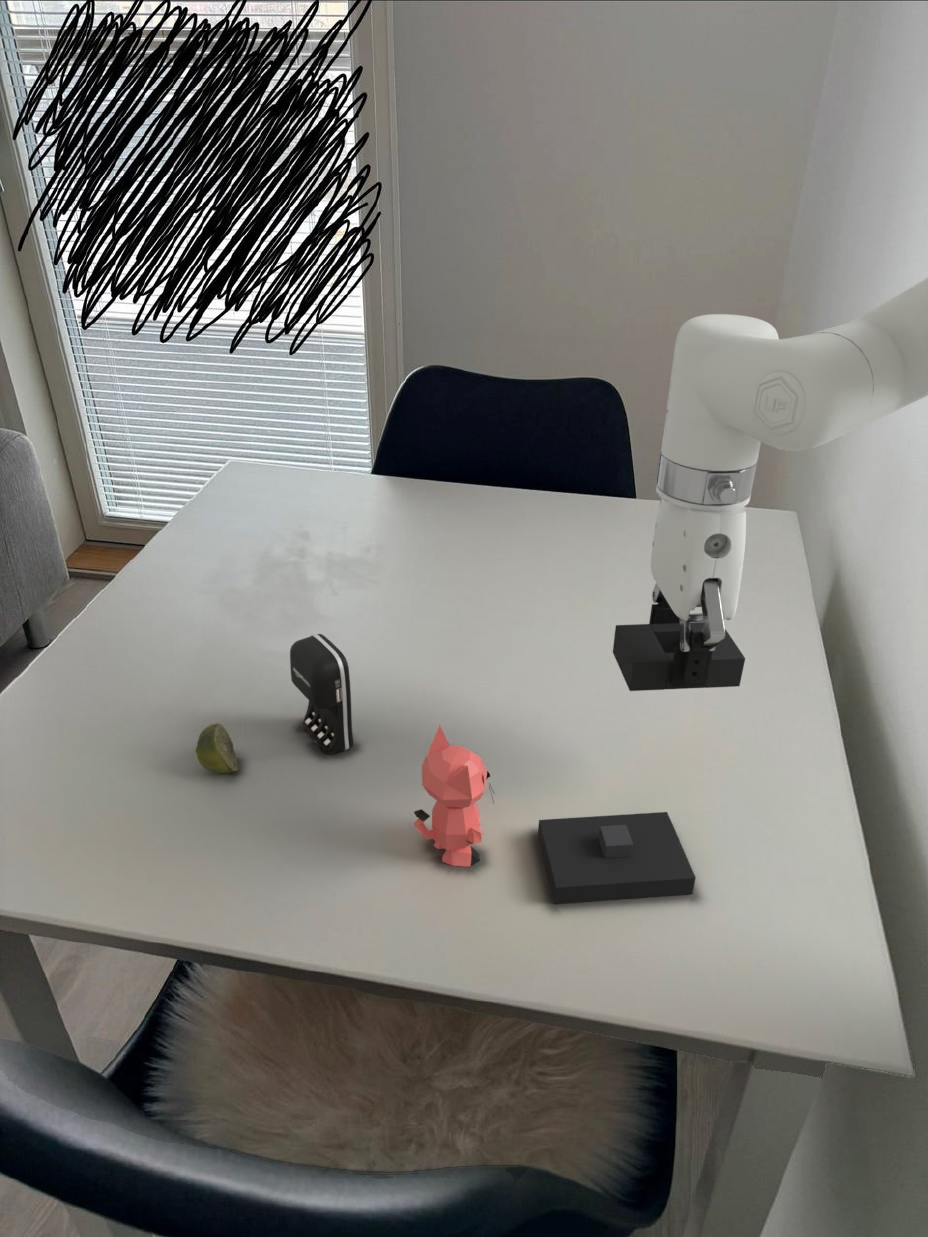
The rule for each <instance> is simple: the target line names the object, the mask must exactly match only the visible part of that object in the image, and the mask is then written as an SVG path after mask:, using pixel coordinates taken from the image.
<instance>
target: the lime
mask: <svg viewBox="0 0 928 1237" xmlns="http://www.w3.org/2000/svg"><path fill="white" fill-rule="evenodd" d="M195 753H196V758H197V760H198V763H199V764H200V766H201V767H202V768H203V769H205V770H207V771H209V772H213V773H216V774H231V773H234V772H236V771H237V770H238V760H237V755H236V752H235V749H234V744H233V741H232V738H231V736H230V734H229V732H228V731H227V730H226V728H225V727H224V726H223V725H222V724H221V723H211V724H209V725H207V726H206V727H205V728H204V729H203V730H202V731H201V732H200V734H199V736H198V739H197V744H196V748H195Z"/></svg>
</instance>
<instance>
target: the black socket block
mask: <svg viewBox="0 0 928 1237" xmlns="http://www.w3.org/2000/svg"><path fill="white" fill-rule="evenodd" d="M703 626H704V622H690V636H691V635H693V634H694V633H695V632H701V629H703ZM675 646H680V623H670V624H649V623H640V624H639V623H637V624H636V623H635V624H616V625H615V629H614V636H613V646H612V653H613V657H614V658H615V660H616V661H615V662H616V663H617V666H618V667H619V670H620V672H621V675H622V677H623V679H624V681H625V683H626V686H627V688H628V690H629V692H639V691H640V692H641V691H663V690H665V691H666V690H685V689H686V690H687V689H711V688H712V689H713V688H714V689H715V688H734V687H740V686H741V680H742V677H743V672H744V666H745V661H746V658H745V656H744V654H743V652H741V650H740V648H739V647H738V646H737V644H736V642H735V641H734V639H733V638H732V636H731V635H730V634H729V632H728V630H727V629H726V628H725V638H724V639H723V640H721V641H720V642H719V643H718V644H717V646H716V648H715V651H713V652H712V658H711V663H710V669H709V674H708V679H707V684H706V685H704V686H697V687H672V686H671V684H670V675H671V668H672V662H673V656H674V649H675Z"/></svg>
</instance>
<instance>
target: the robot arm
mask: <svg viewBox="0 0 928 1237" xmlns="http://www.w3.org/2000/svg"><path fill="white" fill-rule="evenodd" d="M674 343H675V344H674V349H673V350H674V351H673V358H672V364H671V372H670V381H669V387H668V388H669V389H668V396H667V402H666V409H665V411H666V412H665V418H664V427H663V433H662V441H661V448H660V456H659V462H658V470H657V471H658V472H657V480H656V486H655V492H656V494H657V495H658V497H659V498H660V501H659V506H658V511H657V516H656V522H655V527H654V531H653V532H654V533H653V539H652V546H651V555H650V570H651V576H652V577H653V580H654V582H655V584H654V587H653V589H652V594H651V598H652V602H653V603H652V604H651V608H650V615H649V622H648V624H670V623H680V646H675V649H674V656H673V662H672V668H671V675H670V684H671V686H672V687H697V686H704V685H706V684H707V679H708V674H709V669H710V663H711V658H712V652H713V651H715V648H716V646H717V644H718V643H719V642H720V641H721V640H723V639H724V638H725V629H726V628H725V627H726V626H725V622H724V621H725V620H727V621H730V620H731V621H732V619H734V617H735V616H736V613H737V609H738V603H739V597H740V589H741V584H742V582H741V581H742V576H743V575H742V574H743V568H744V560H745V550H746V539H747V538H746V536H747V535H746V534H747V510H746V506H748V505H749V503H750V501H751V496H752V491H753V486H754V481H755V477H756V471H757V465H758V460H759V455H760V450H761V445H762V444H765V445H767V446H769V447H772V448H774V449H778V450H780V451H781V450H782V451H785V452H786V451H787V452H803V451H804V452H805V451H809V450H813V449H815V448H818V447H821V446H823V445H825V444H828V443H830V442H832V441H834V440H837V439H839V438H841V437H843V436H845V435H846V434H848V433H851V432H853V431H855V430H857V429H859V428H862V427H864V426H866V425H868V424H872V423H873V422H876V421H877V420H880V419H882V418H885V417H886V416H888V415H890V414H892V413H895V412H897V411H899V410H900V409H902V408H905V407H907V406H909V405H911V404H913V403H915V402H917V401H919V400H922V399H924V398H925V397H928V276H926V278H924V279H923V280H921V281H919V282H918V283H916V284H914V285H913V286H911V287H909V288H907V289H906V290H904V291H902V292H901V293H898V294H897V295H896V296H894V297H892V298H890V299H889V300H886V301H885V302H883V303H882V304H880V305H878V306H876V307H875V308H872V309H870V310H869V311H867V312H866V313H864V314H862V315H860V316H858V317H856V318H854V319H852V320H851V321H848V322H846V323H842V324H840V325H835V326H832V327H828V328H824V329H822V330H818V331H815V332H812V333H808V334H804V335H799V336H798V335H797V336H792V337H787V338H781V339H780V338H779V333H778V331H777V329H776V328H775V327H774V326H773V325H772V324H771V323H769V322H767V321H765V320H764V319H760V318H756V317H752V316H747V315H741V314H740V315H739V314H727V313H712V314H710V313H709V314H703V315H698V316H695V317H692V318H690V319H688V320H687V321H685V322H684V323H683V324H682V325H681V326H680V328H679V330H678V332H677V335H676V338H675V342H674ZM696 608H701V612H700V613H699V612H698V613H691V611H695V609H696ZM690 622H704V626H703V629H701V632H695V633H694V634H693V635H691V636H690Z"/></svg>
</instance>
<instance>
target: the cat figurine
mask: <svg viewBox="0 0 928 1237" xmlns="http://www.w3.org/2000/svg"><path fill="white" fill-rule="evenodd" d="M489 778H491V773H490V772H489V771H488V770H487V768H486V766H485V764H484V762H483V760H482V757H481V756H479V755H477V754H476V753H475V752H473V751H472V750H470V749H468V748H466V747H463V746H462V745H451V744H450V742H449V740H448V738H447V737H446V734H445V732H444V729H443V728H442V726H441V724H440V723H439V724H438V727H437V730H436V731H435V734H434V737H433V740H432V742H431V745H430V747H429V750H428V753H427V755H426V757H425V759H424V760H423V762H422V764H421V785H422V787H423V789H424V790H425V791H426V793H427V794H428V796H430V797H431V798H433V799H435V803H434V805H433V807H432V809H431V815H430V814H429V813H427V812H426V811H425V810H423V808H421V809H417V810H415V811H413V813H414V815H415V817H416V818H417V819H416V820H414V822H413V825H414V827H415V829H416V830H417V831H418V832H419V833H420V834H421V835H422V836H423V838H425V840H430V839H433V841H434V844H433V847H434V848H435V849H436V850H446V851H445V852H444V853H443V854H442V856H441V861H442V863H444V864H448V865H450V866H452V867H453V866H454V867H467V868H471V867H473V866H474V865H476V864H477V863H479V862H480V861H481V858H480V853H479V852H478V851H477V850H476V849H475V848H473V847H472V845H475V844H477V843H481V842H482V841H483V831H482V828H481V821H480V820H481V818H480V809H479V807H478V804H477V802H478V801H479V800H480V799H481V798H482V797H483V795H484V793H486V792H485V791H486V787H487V780H488V779H489ZM488 784H489V786H488V788H489V791H490V795H491V799H492V802H493V804H495V800H494V798H493V794H495V791H494V789H493V787H492V786H491V783H490V782H489V783H488ZM492 793H493V794H492ZM430 817H431V829H429V830H428V828H427V826H426V825H425V822H426V821H427V820H428V819H429V818H430Z"/></svg>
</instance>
